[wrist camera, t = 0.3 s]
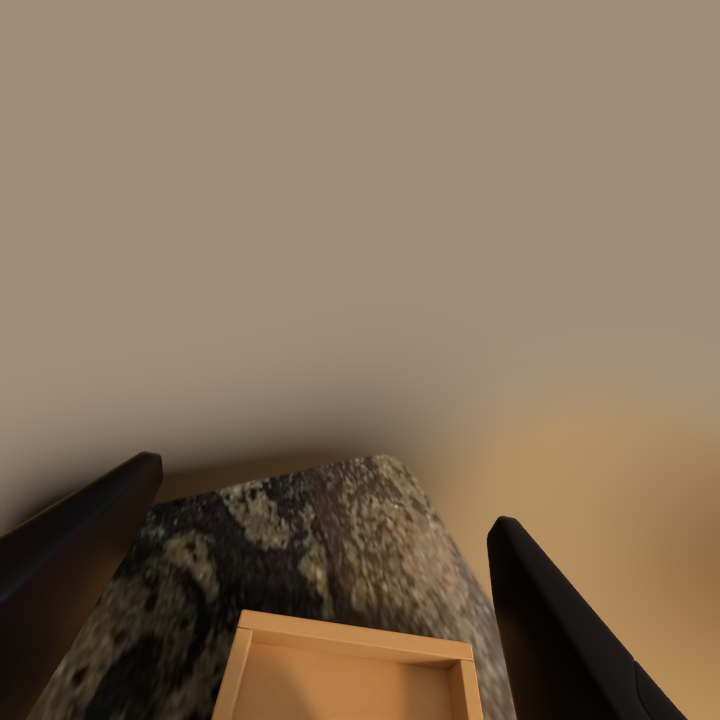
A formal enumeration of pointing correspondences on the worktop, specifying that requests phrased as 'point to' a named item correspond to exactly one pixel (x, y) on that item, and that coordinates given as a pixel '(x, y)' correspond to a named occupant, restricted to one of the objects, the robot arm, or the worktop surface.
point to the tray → (343, 673)
